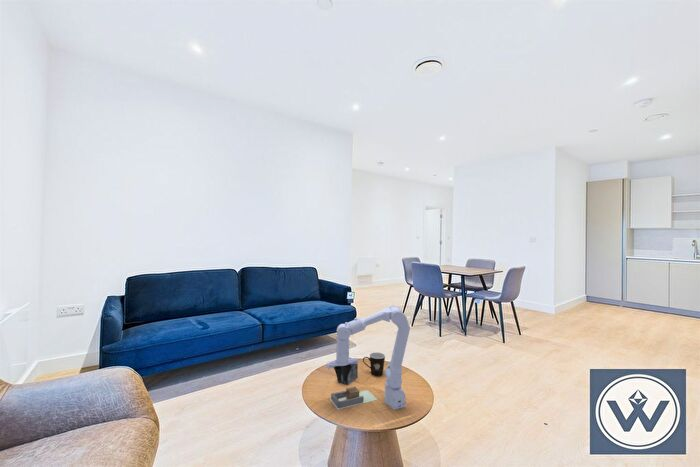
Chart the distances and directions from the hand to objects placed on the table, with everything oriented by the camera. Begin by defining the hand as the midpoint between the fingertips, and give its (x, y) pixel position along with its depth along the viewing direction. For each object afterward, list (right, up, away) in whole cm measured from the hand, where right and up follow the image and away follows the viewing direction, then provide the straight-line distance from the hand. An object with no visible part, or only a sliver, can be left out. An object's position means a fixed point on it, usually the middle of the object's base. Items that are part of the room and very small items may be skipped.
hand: (342, 381), depth 136 cm
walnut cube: (+5, -10, +2) cm, 11 cm away
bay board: (+6, -11, +3) cm, 12 cm away
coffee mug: (+17, -11, +32) cm, 38 cm away
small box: (+2, -11, +21) cm, 24 cm away
